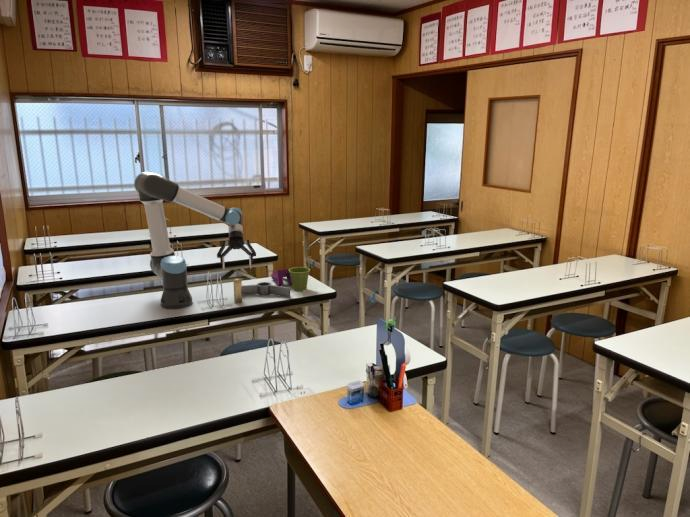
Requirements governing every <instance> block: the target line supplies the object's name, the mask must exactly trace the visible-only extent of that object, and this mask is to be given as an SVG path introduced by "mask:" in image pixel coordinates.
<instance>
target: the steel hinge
mask: <svg viewBox="0 0 690 517" xmlns="http://www.w3.org/2000/svg"><path fill="white" fill-rule="evenodd" d="M250 295H258V296H269V295H272V296H279V297H283V296H284V297H283V298H290V297H291V287H287V286H283V285H282V286H276V284H275V285H274V284H272V283H271V282H268V281H261V282H257V283H256V284H246V285H244V284H243V285H242V296H250Z"/></svg>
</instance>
